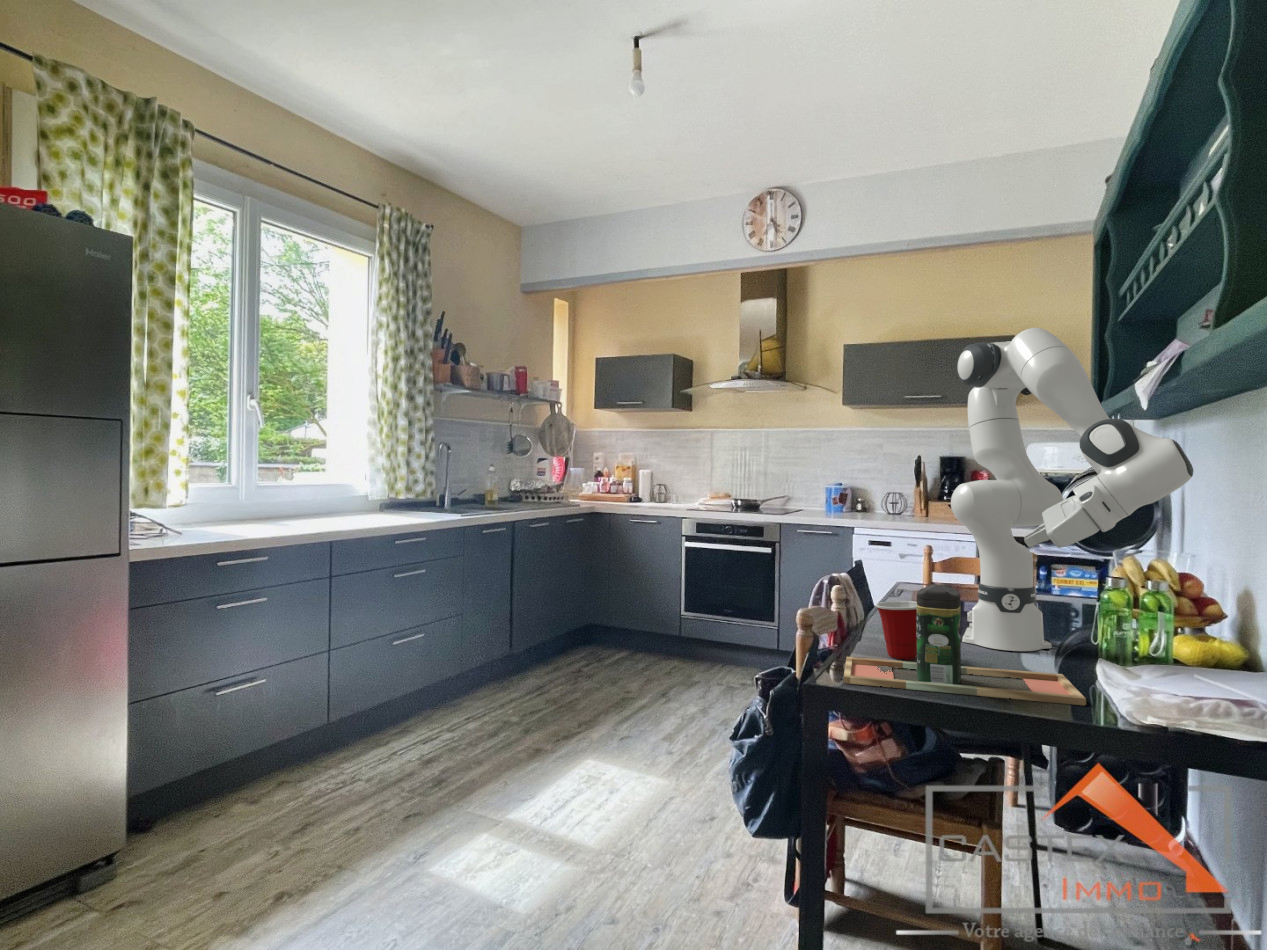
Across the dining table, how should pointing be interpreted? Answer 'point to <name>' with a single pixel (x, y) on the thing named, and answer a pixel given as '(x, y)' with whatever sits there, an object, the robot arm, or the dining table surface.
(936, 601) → the coffee jar
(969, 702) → the dining table surface
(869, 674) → the mats
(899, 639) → the plastic cup
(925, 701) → the dining table surface
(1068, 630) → the dining table surface
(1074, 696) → the channel
